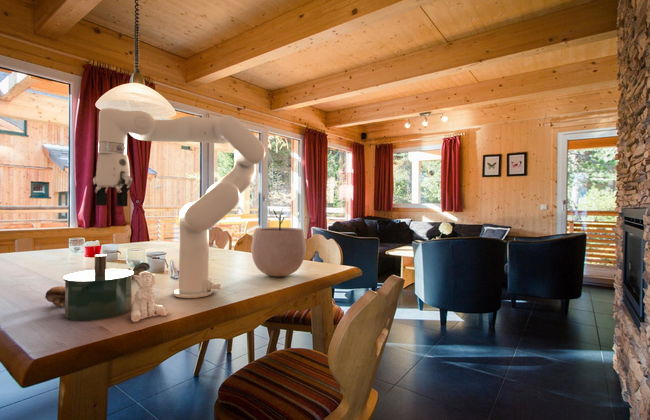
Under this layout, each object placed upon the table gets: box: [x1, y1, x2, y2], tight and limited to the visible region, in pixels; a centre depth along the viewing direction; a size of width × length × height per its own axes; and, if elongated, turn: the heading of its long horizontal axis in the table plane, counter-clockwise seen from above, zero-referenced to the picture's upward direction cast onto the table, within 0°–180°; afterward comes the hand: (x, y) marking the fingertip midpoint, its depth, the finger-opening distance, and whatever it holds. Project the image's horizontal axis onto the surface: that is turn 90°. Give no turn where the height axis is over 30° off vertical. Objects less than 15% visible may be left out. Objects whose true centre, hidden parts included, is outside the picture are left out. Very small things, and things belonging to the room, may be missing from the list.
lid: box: [63, 254, 134, 283], centre depth 99 cm, size 17×17×7 cm
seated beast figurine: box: [130, 271, 169, 323], centre depth 96 cm, size 10×9×12 cm
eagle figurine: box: [125, 262, 151, 281], centre depth 141 cm, size 8×7×9 cm
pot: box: [64, 276, 133, 321], centre depth 99 cm, size 16×21×10 cm
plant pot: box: [251, 208, 307, 278], centre depth 155 cm, size 24×24×30 cm
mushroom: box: [45, 285, 65, 308], centre depth 103 cm, size 8×8×6 cm
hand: (111, 205), depth 107 cm, fingers open, 9 cm apart
